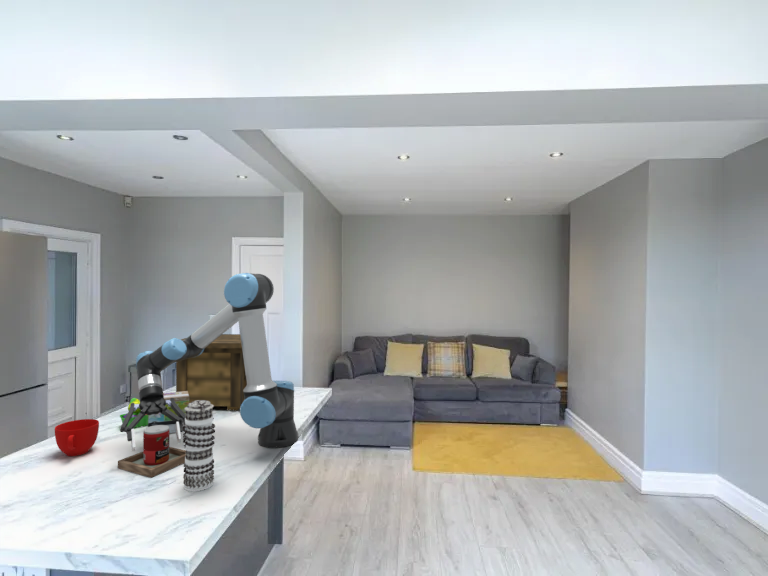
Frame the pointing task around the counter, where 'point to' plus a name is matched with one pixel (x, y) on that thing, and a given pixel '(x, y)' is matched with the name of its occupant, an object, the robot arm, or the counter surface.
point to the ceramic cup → (76, 436)
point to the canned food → (156, 444)
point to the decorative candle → (198, 446)
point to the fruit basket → (135, 415)
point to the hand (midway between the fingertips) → (157, 444)
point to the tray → (139, 467)
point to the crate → (215, 373)
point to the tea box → (161, 419)
